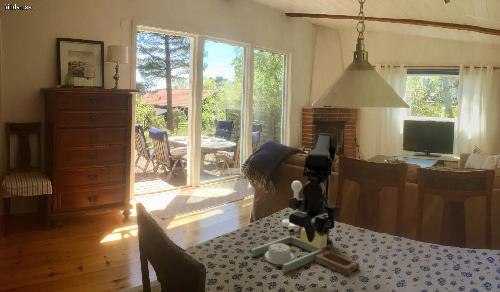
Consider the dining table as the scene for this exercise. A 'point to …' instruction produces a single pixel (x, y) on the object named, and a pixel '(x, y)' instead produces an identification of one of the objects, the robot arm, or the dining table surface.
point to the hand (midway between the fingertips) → (313, 240)
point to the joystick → (296, 188)
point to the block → (315, 239)
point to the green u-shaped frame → (295, 241)
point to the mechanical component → (279, 254)
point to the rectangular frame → (336, 266)
